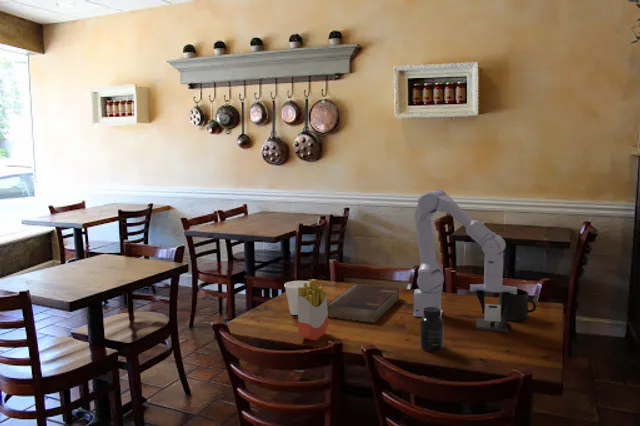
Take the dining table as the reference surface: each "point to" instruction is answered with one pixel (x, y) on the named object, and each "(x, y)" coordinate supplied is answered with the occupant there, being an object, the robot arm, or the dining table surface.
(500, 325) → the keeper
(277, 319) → the dining table surface
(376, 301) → the hardback book
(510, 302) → the mug
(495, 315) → the gray square hollow block
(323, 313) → the french fries container
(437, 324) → the supplement bottle
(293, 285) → the cup
